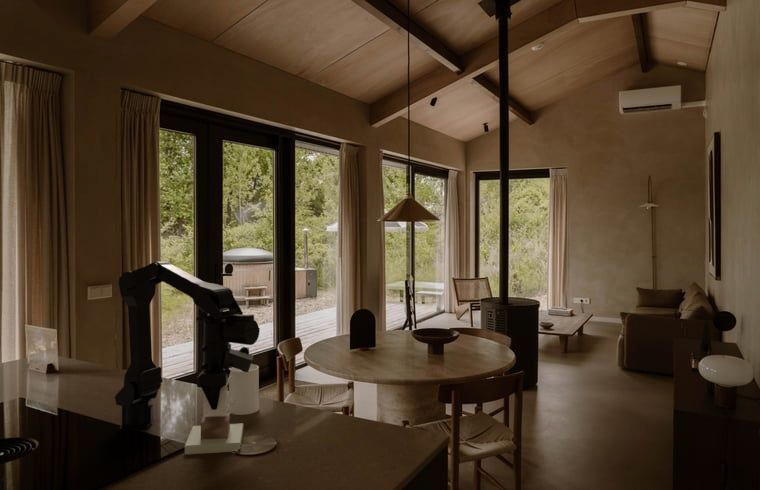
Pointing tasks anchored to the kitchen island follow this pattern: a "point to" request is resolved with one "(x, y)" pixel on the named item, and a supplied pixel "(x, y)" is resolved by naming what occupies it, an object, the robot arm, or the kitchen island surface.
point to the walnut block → (215, 426)
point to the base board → (214, 441)
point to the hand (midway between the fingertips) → (215, 405)
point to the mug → (243, 391)
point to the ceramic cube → (221, 403)
